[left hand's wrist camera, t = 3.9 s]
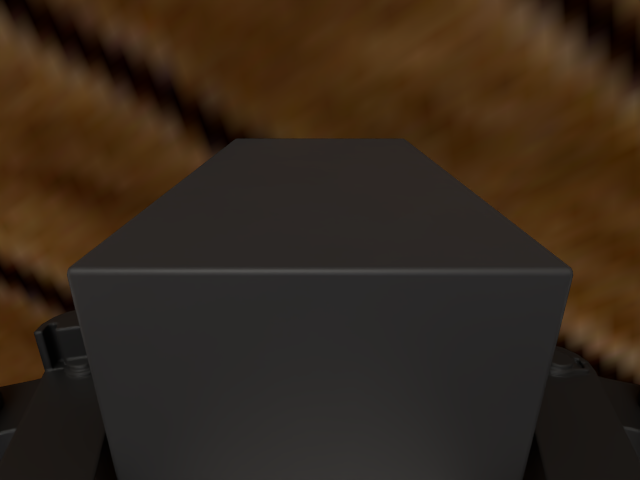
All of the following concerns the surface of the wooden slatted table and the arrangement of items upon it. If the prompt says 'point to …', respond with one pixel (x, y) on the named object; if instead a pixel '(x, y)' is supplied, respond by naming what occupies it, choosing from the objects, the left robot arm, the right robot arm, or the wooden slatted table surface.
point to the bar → (320, 321)
